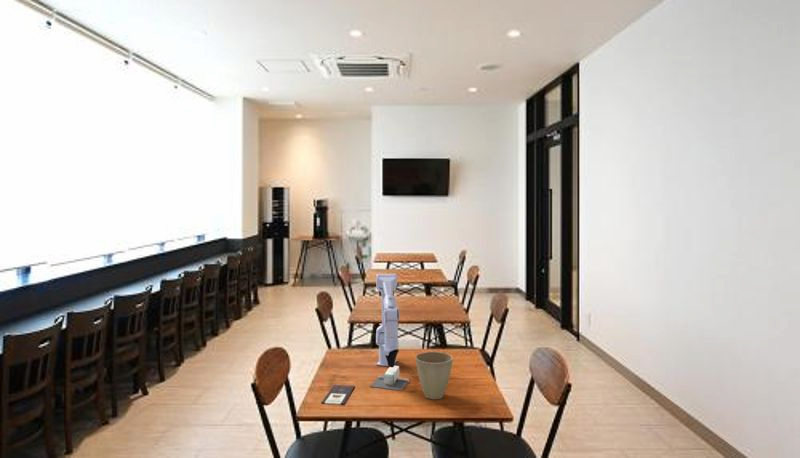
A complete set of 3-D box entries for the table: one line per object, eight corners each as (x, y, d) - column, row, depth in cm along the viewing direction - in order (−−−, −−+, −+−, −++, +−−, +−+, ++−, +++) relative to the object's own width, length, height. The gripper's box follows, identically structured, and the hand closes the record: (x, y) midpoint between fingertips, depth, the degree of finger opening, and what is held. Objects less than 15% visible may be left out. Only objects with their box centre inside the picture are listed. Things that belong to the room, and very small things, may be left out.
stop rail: (378, 378, 216) (378, 375, 216) (408, 381, 212) (408, 378, 212) (377, 379, 215) (377, 376, 215) (407, 382, 211) (407, 380, 211)
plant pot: (460, 398, 195) (460, 358, 194) (429, 406, 187) (429, 365, 186) (437, 386, 207) (437, 349, 206) (408, 393, 199) (408, 355, 199)
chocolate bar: (354, 386, 206) (343, 403, 188) (354, 388, 206) (344, 405, 188) (334, 384, 207) (321, 402, 190) (334, 387, 207) (321, 404, 190)
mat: (377, 379, 215) (377, 378, 215) (407, 383, 211) (407, 382, 211) (369, 386, 206) (369, 386, 206) (401, 390, 202) (401, 390, 202)
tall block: (390, 365, 216) (383, 375, 208) (399, 366, 215) (392, 376, 207) (390, 373, 217) (384, 384, 209) (399, 374, 216) (393, 385, 208)
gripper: (387, 330, 218) (388, 360, 219) (376, 339, 205) (376, 371, 205) (403, 332, 216) (403, 362, 217) (392, 341, 202) (392, 373, 203)
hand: (391, 366), depth 211 cm, fingers closed
